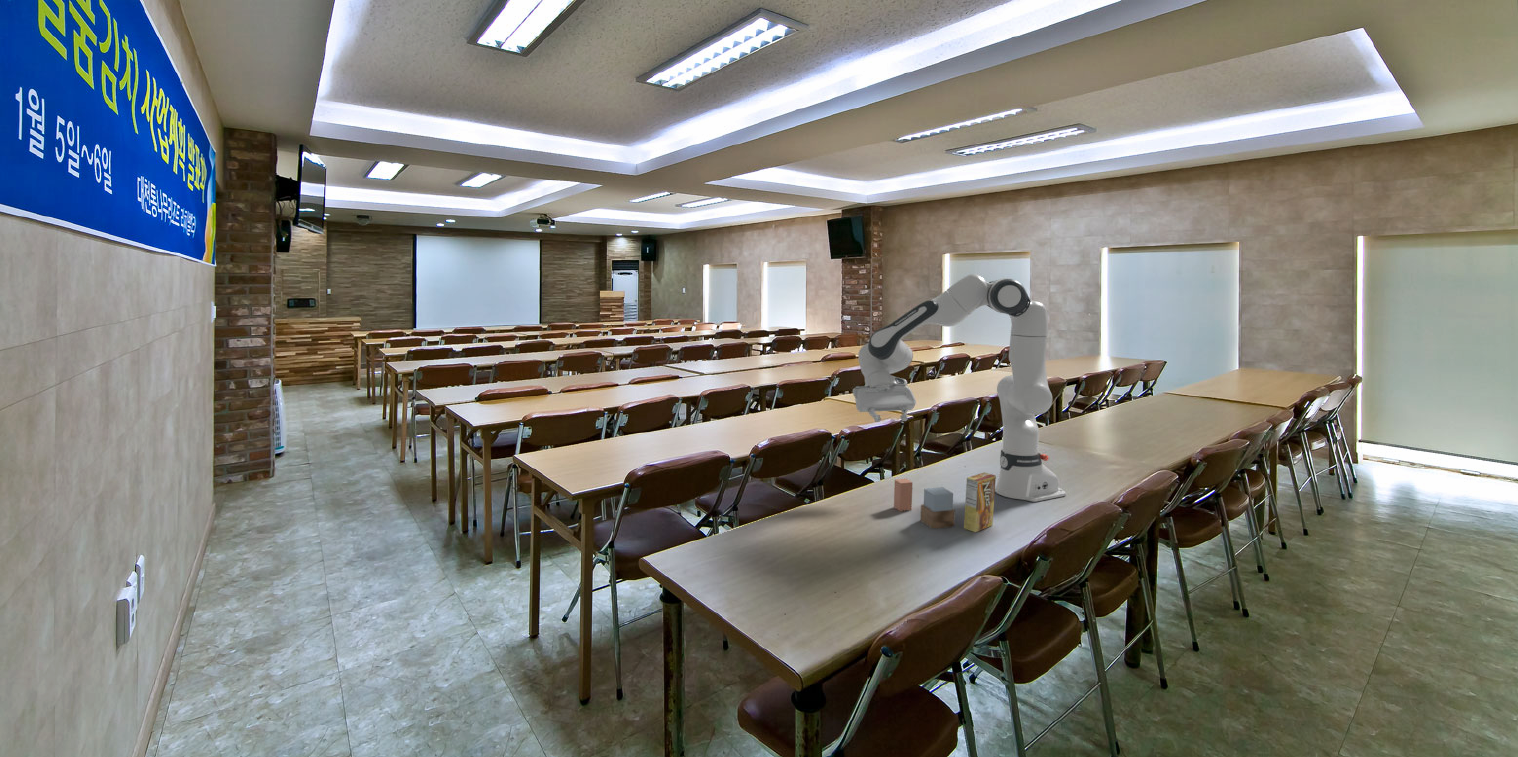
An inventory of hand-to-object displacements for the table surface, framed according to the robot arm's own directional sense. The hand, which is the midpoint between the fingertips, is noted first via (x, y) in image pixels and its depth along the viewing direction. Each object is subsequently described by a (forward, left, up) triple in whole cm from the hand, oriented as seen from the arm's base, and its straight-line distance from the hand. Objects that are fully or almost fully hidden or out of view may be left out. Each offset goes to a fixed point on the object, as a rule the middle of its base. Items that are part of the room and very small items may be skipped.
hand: (891, 420), depth 220 cm
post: (+1, +12, -25) cm, 28 cm away
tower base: (-3, +26, -26) cm, 37 cm away
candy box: (-13, +32, -26) cm, 43 cm away
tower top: (-3, +27, -21) cm, 34 cm away
